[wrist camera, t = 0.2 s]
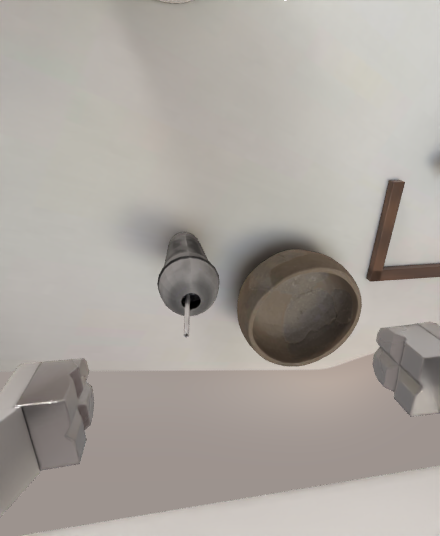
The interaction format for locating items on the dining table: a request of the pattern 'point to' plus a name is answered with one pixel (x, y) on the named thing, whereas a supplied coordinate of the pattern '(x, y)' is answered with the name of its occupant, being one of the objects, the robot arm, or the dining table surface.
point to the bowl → (298, 307)
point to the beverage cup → (187, 278)
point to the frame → (383, 239)
